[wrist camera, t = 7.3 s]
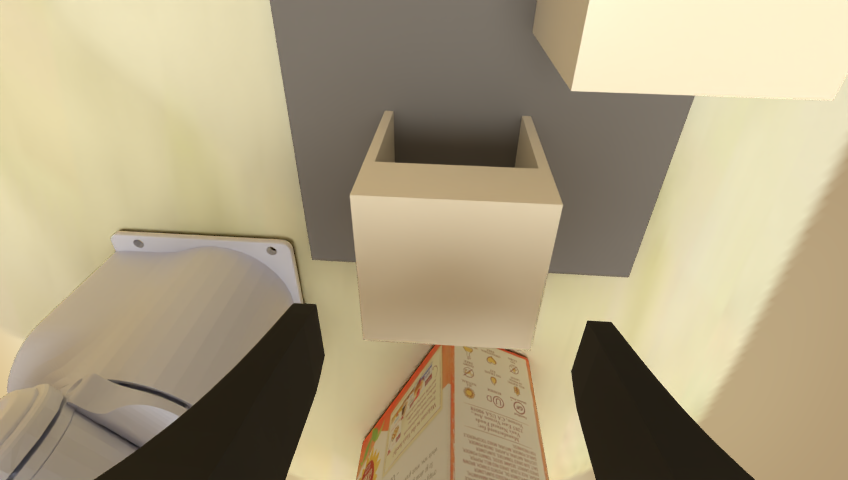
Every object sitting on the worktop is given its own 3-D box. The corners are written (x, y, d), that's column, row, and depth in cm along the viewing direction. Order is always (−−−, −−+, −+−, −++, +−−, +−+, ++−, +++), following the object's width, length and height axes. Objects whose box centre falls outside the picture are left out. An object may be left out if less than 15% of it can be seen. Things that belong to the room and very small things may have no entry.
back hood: (389, 230, 22) (363, 340, 16) (385, 110, 18) (349, 195, 12) (512, 236, 21) (530, 350, 16) (530, 116, 18) (563, 204, 12)
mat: (314, 253, 23) (312, 259, 23) (215, -378, 12) (206, -389, 11) (625, 270, 23) (628, 277, 22) (858, -386, 11) (874, -399, 10)
